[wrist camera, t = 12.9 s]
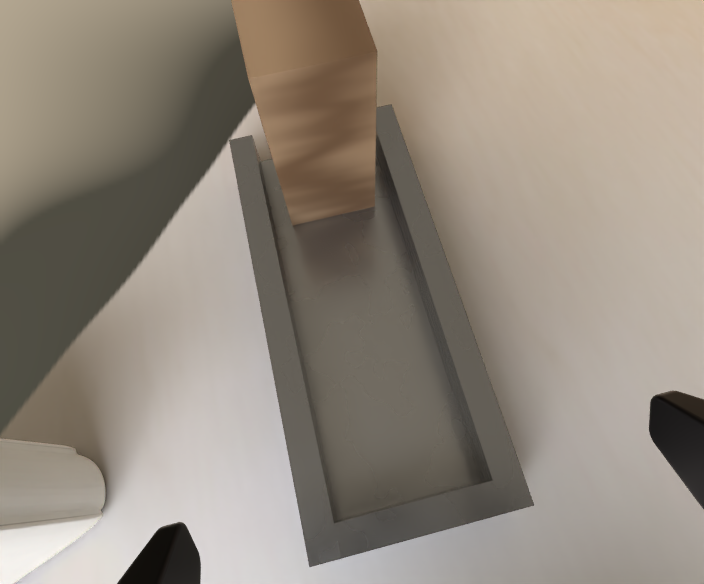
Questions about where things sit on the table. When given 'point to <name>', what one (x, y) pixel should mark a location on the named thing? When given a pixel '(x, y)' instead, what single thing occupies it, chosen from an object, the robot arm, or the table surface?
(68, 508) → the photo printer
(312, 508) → the gray rectangular tray
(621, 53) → the table surface
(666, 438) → the robot arm
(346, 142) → the wooden tall block
